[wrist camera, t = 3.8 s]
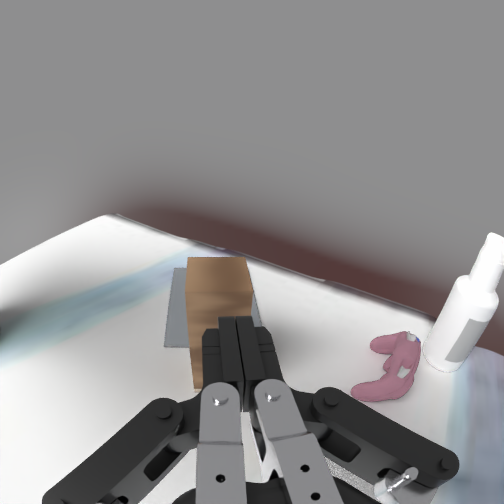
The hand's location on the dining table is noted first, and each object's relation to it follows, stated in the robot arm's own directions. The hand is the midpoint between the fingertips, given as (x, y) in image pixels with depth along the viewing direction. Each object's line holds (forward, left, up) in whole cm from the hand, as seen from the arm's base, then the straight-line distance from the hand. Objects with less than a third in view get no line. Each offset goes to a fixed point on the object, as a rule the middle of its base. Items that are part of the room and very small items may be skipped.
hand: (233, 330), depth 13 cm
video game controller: (+11, +16, -17) cm, 26 cm away
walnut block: (-6, +8, -17) cm, 19 cm away
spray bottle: (+20, +23, -17) cm, 35 cm away
